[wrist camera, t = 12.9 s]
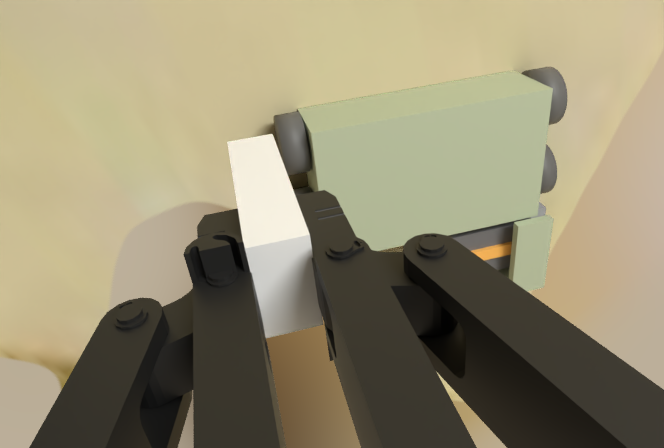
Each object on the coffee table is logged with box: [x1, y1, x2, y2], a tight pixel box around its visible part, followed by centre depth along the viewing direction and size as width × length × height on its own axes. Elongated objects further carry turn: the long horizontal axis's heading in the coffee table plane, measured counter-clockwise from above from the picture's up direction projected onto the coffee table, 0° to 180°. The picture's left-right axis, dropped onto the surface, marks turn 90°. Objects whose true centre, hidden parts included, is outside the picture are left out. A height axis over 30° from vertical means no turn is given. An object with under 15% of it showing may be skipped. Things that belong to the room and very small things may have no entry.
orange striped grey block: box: [448, 218, 529, 270], centre depth 52 cm, size 8×5×5 cm, turn 96°
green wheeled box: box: [274, 67, 567, 291], centre depth 48 cm, size 24×20×7 cm
